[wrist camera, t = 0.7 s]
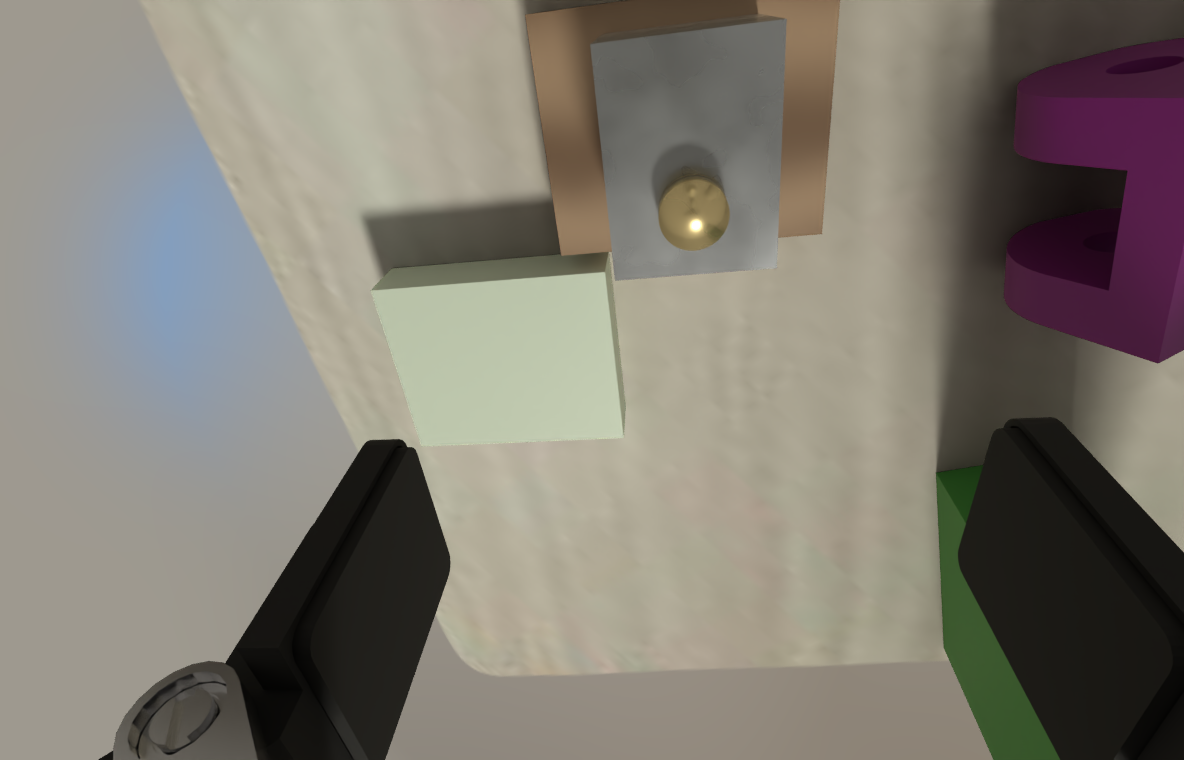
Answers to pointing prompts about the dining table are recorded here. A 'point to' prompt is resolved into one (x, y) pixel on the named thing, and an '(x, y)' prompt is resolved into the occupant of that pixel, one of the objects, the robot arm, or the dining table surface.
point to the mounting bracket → (1117, 235)
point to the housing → (692, 144)
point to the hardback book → (981, 639)
